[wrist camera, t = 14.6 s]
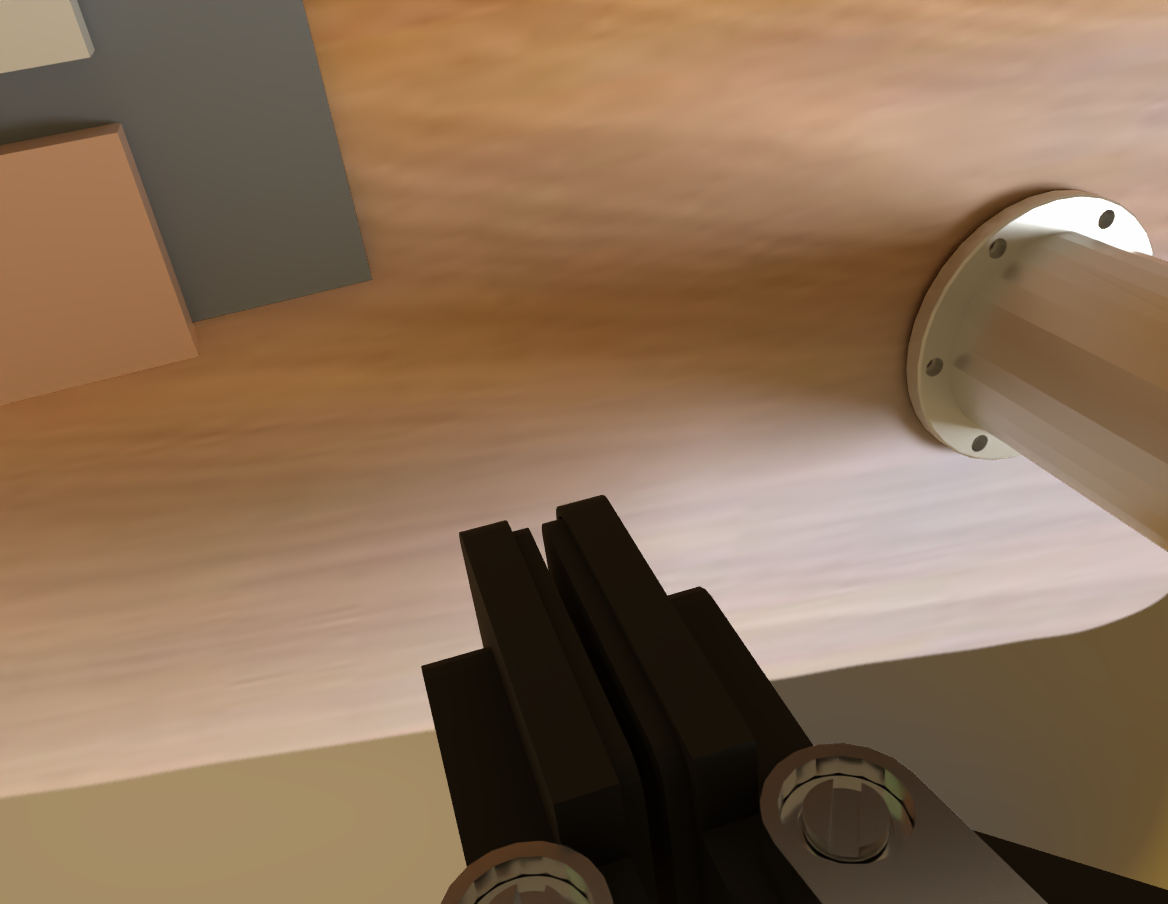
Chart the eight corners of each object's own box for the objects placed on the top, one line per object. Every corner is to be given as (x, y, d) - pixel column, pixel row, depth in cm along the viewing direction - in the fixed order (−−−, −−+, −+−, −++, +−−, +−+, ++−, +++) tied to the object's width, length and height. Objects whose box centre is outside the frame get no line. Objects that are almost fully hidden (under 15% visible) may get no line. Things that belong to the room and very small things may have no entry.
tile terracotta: (117, 132, 28) (-200, 194, 26) (198, 356, 32) (-76, 424, 30) (121, 120, 29) (-179, 178, 28) (198, 336, 33) (-63, 399, 31)
